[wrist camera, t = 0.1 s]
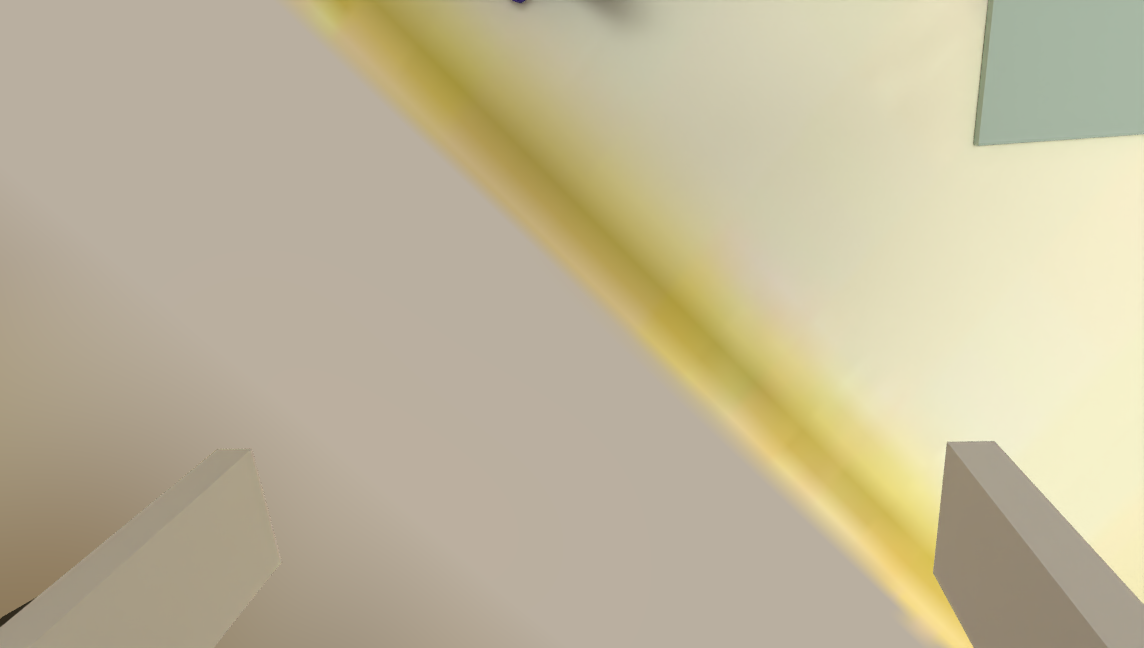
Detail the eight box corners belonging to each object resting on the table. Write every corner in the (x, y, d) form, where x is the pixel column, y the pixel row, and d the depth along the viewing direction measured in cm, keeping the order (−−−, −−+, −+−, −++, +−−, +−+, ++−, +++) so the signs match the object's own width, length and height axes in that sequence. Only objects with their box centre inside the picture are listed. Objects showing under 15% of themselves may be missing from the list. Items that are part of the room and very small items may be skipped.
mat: (1000, -122, 32) (1006, -126, 31) (1297, -158, 30) (1309, -163, 29) (973, 144, 36) (978, 145, 35) (1234, 126, 34) (1244, 127, 33)
